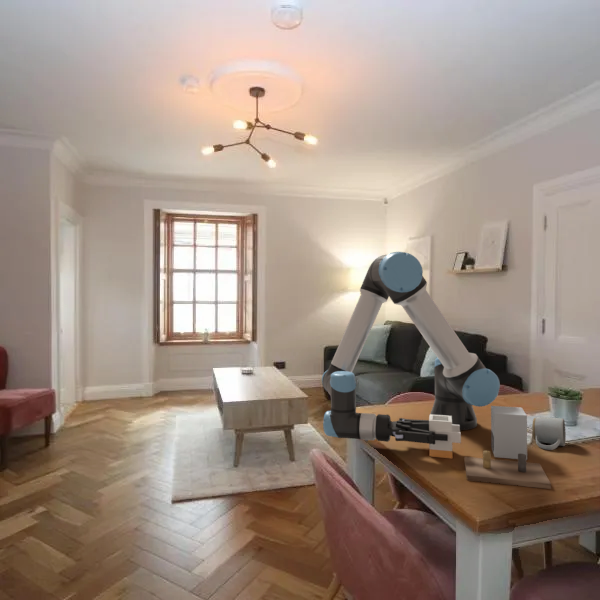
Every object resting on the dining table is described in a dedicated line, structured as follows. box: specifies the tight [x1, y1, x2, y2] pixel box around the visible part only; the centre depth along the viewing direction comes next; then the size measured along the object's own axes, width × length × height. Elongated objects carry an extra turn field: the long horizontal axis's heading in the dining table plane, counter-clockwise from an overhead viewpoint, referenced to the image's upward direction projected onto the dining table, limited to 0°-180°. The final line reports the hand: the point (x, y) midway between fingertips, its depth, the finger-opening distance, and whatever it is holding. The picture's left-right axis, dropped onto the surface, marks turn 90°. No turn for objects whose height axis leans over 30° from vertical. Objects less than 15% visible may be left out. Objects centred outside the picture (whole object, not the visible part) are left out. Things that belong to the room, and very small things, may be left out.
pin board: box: [463, 450, 552, 490], centre depth 109 cm, size 12×18×5 cm, turn 72°
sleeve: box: [428, 413, 453, 459], centre depth 123 cm, size 6×6×10 cm
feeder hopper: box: [490, 405, 528, 461], centre depth 122 cm, size 8×8×12 cm
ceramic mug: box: [531, 416, 567, 451], centre depth 128 cm, size 11×8×8 cm
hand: (460, 433), depth 121 cm, fingers closed on sleeve, 6 cm apart
